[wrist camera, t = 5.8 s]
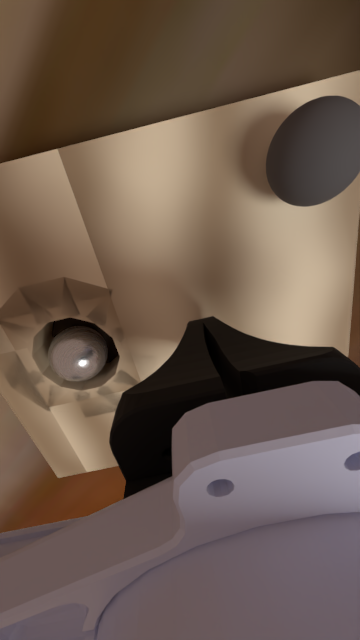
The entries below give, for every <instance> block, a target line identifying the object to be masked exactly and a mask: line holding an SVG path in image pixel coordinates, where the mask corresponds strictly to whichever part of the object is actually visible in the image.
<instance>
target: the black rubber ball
mask: <svg viewBox="0 0 360 640" xmlns="http://www.w3.org/2000/svg"><path fill="white" fill-rule="evenodd" d="M359 172H360V106H359V105H358V104H357V103H356V102H354V101H353V100H351V99H348V98H346V97H343V96H323V97H319V98H316V99H313V100H311V101H309V102H307V103H305V104H303V105H302V106H300V107H299V108H297V109H296V110H295V111H293V112H292V113H291V114H290V115H289V116H288V117H287V118H286V119H285V120H284V121H283V123H282V124H281V125H280V127H279V128H278V130H277V131H276V133H275V135H274V136H273V139H272V141H271V143H270V146H269V149H268V153H267V158H266V175H267V179H268V183H269V185H270V187H271V189H272V191H273V192H274V193H275V195H276V196H277V197H278V198H279V199H281V200H282V201H284V202H286V203H288V204H290V205H294V206H300V207H308V206H314V205H318V204H322V203H324V202H326V201H328V200H331V199H332V198H334V197H336V196H337V195H338V194H340V193H341V192H342V191H344V190H345V189H346V188H347V187H348V186H349V185H350V184H351V183H352V182H353V180H354V179H355V178H356V177H357V175H358V174H359Z"/></svg>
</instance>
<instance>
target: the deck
mask: <svg viewBox="0 0 360 640" xmlns="http://www.w3.org/2000/svg"><path fill="white" fill-rule="evenodd" d="M323 96H343V97H346V98H348V99H351V100H353V101H354V102H356V103H357V104H358V105H359V106H360V70H359V71H355V72H351V73H347V74H344V75H340V76H336V77H332V78H328V79H324V80H321V81H317V82H313V83H309V84H305V85H301V86H297V87H294V88H290V89H286V90H282V91H278V92H274V93H270V94H267V95H263V96H259V97H255V98H251V99H247V100H243V101H240V102H236V103H232V104H228V105H224V106H220V107H217V108H213V109H209V110H205V111H201V112H197V113H193V114H190V115H186V116H182V117H178V118H174V119H170V120H166V121H163V122H159V123H155V124H151V125H147V126H143V127H139V128H136V129H132V130H128V131H124V132H120V133H116V134H112V135H109V136H105V137H101V138H97V139H93V140H89V141H86V142H82V143H78V144H74V145H70V146H66V147H62V148H59V149H55V150H51V151H47V152H43V153H39V154H35V155H32V156H28V157H24V158H20V159H16V160H12V161H8V162H5V163H1V164H0V392H1V394H2V395H3V397H4V398H5V400H6V401H7V403H8V404H9V406H10V407H11V409H12V410H13V412H14V413H15V415H16V416H17V418H18V419H19V421H20V422H21V424H22V425H23V427H24V428H25V429H26V431H27V432H28V434H29V435H30V437H31V438H32V440H33V441H34V443H35V444H36V446H37V447H38V449H39V450H40V452H41V453H42V455H43V456H44V458H45V459H46V461H47V462H48V464H49V465H50V466H51V468H52V469H53V471H54V472H55V474H56V475H57V477H58V478H61V477H65V476H70V475H75V474H80V473H85V472H90V471H95V470H100V469H105V468H109V467H114V466H119V465H118V463H117V461H116V459H115V457H114V455H113V453H112V451H111V448H110V444H109V438H110V431H111V427H112V423H113V419H114V415H115V412H116V409H117V406H118V403H119V401H120V398H121V396H122V393H123V392H124V391H126V390H128V389H130V388H131V387H133V386H135V385H136V384H138V383H140V382H141V381H143V380H144V379H146V378H147V377H149V376H150V375H151V374H153V373H154V372H155V371H156V370H157V369H159V368H160V367H161V366H162V365H163V364H164V363H165V362H166V361H167V360H168V359H169V358H170V356H171V355H172V354H173V352H174V351H175V349H176V348H177V346H178V344H179V343H180V341H181V339H182V337H183V335H184V332H185V330H186V327H187V324H188V322H189V321H193V320H198V319H202V318H207V317H211V316H214V317H216V318H217V319H219V320H220V321H222V322H224V323H225V324H227V325H229V326H231V327H232V328H234V329H236V330H239V331H241V332H243V333H245V334H248V335H251V336H254V337H257V338H260V339H264V340H267V341H272V342H277V343H282V344H289V345H299V346H317V347H334V348H336V349H337V350H339V351H340V352H341V353H343V354H344V355H345V356H346V357H348V352H349V339H350V326H351V313H352V300H353V288H354V275H355V262H356V249H357V236H358V224H359V211H360V172H359V174H358V175H357V177H356V178H355V179H354V180H353V182H352V183H351V184H350V185H349V186H348V187H347V188H346V189H345V190H344V191H342V192H341V193H340V194H338V195H337V196H336V197H334V198H332V199H331V200H328V201H326V202H324V203H322V204H318V205H314V206H308V207H300V206H294V205H290V204H288V203H286V202H284V201H282V200H281V199H279V198H278V197H277V196H276V195H275V193H274V192H273V191H272V189H271V187H270V185H269V183H268V179H267V175H266V158H267V153H268V149H269V146H270V143H271V141H272V139H273V136H274V135H275V133H276V131H277V130H278V128H279V127H280V125H281V124H282V123H283V121H284V120H285V119H286V118H287V117H288V116H289V115H290V114H291V113H292V112H293V111H295V110H296V109H297V108H299V107H300V106H302V105H303V104H305V103H307V102H309V101H311V100H313V99H316V98H319V97H323ZM69 317H71V318H75V319H79V320H83V321H88V322H92V323H95V324H96V325H97V326H99V327H100V328H101V329H102V330H103V331H105V332H106V333H107V334H108V335H109V336H111V337H112V338H113V340H114V343H115V346H116V348H117V351H118V353H119V355H118V356H117V357H116V358H115V359H114V360H112V361H111V362H110V363H105V365H104V367H103V368H102V370H101V371H100V372H99V373H98V374H97V375H95V376H94V377H92V378H90V379H88V380H85V381H79V382H74V381H68V380H65V379H63V378H61V377H59V376H58V375H57V374H56V373H55V372H54V371H53V370H52V368H51V366H50V364H49V360H48V350H49V347H50V344H51V342H52V340H53V339H54V338H53V336H52V330H53V322H54V321H56V320H61V319H65V318H69Z"/></svg>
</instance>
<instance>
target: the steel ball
mask: <svg viewBox="0 0 360 640" xmlns="http://www.w3.org/2000/svg"><path fill="white" fill-rule="evenodd" d="M107 356H108V348H107V344H106V342H105V340H104V338H103V337H102V335H101V334H100V333H98V332H97V331H96V330H94V329H92V328H89V327H86V326H73V327H70V328H67V329H65V330H63V331H61V332H60V333H59V334H57V335H56V337H55V338H54V339H53V340H52V342H51V344H50V347H49V350H48V360H49V364H50V366H51V368H52V370H53V371H54V372H55V373H56V374H57V375H58V376H59V377H61V378H63V379H65V380H68V381H74V382H79V381H85V380H88V379H90V378H92V377H94V376H95V375H97V374H98V373H99V372H100V371H101V370H102V368H103V367H104V365H105V363H106V361H107Z"/></svg>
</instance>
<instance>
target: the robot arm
mask: <svg viewBox="0 0 360 640" xmlns="http://www.w3.org/2000/svg"><path fill="white" fill-rule="evenodd" d="M109 444H110V448H111V451H112V453H113V455H114V457H115V459H116V461H117V463H118V465H119V467H120V469H121V472H122V474H123V476H124V478H125V480H126V486H125V493H124V499H123V500H121V501H119V502H117V503H115V504H112V505H110V506H108V507H106V508H104V509H102V510H100V511H98V512H96V513H94V514H91V515H89V516H86V517H81V518H76V519H71V520H66V521H60V522H55V523H50V524H45V525H40V526H35V527H30V528H25V529H20V530H14V531H9V532H4V533H0V640H360V368H359V367H358V366H357V365H356V364H355V363H354V362H353V361H351V360H350V359H349V358H348V357H346V356H345V355H344V354H343V353H341V352H340V351H339V350H337V349H336V348H334V347H317V346H299V345H289V344H282V343H277V342H272V341H267V340H264V339H260V338H257V337H254V336H251V335H248V334H245V333H243V332H241V331H239V330H236V329H234V328H232V327H231V326H229V325H227V324H225V323H224V322H222V321H220V320H219V319H217V318H216V317H214V316H211V317H207V318H202V319H198V320H193V321H189V322H188V324H187V327H186V330H185V332H184V335H183V337H182V339H181V341H180V343H179V344H178V346H177V348H176V349H175V351H174V352H173V354H172V355H171V356H170V358H169V359H168V360H167V361H166V362H165V363H164V364H163V365H162V366H161V367H160V368H159V369H157V370H156V371H155V372H154V373H153V374H151V375H150V376H149V377H147V378H146V379H144V380H143V381H141V382H140V383H138V384H136V385H135V386H133V387H131V388H130V389H128V390H126V391H124V392H123V393H122V396H121V398H120V401H119V403H118V406H117V409H116V412H115V415H114V419H113V423H112V427H111V431H110V438H109Z"/></svg>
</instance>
